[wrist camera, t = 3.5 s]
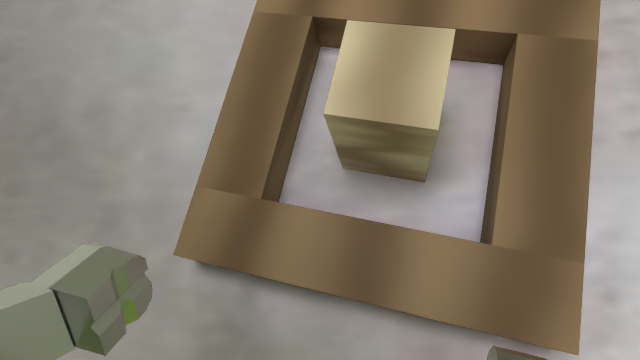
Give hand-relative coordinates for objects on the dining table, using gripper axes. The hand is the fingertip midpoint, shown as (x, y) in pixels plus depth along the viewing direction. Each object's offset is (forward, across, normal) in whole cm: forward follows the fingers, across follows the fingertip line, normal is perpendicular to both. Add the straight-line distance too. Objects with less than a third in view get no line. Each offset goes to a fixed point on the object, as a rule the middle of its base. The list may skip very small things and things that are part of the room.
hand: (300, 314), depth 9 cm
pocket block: (+17, 0, +2) cm, 17 cm away
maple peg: (+17, 0, +2) cm, 17 cm away
